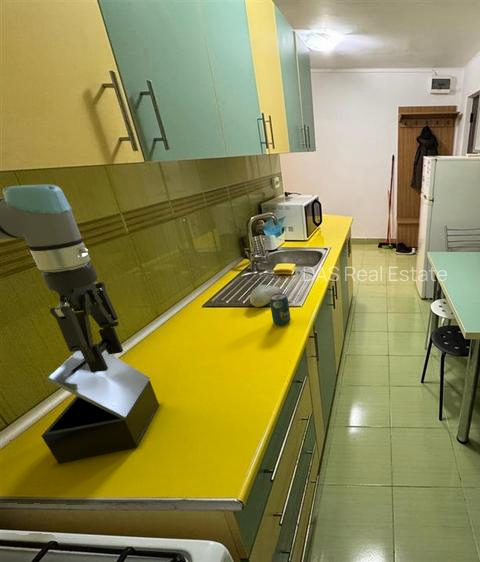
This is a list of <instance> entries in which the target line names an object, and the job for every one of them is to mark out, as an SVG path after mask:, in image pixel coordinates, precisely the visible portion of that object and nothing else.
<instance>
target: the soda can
mask: <svg viewBox="0 0 480 562" xmlns="http://www.w3.org/2000/svg"><path fill="white" fill-rule="evenodd" d="M269 306H270V312H271V318H272V322H273V324H274V325H275V326H276V327H285V326H287V325H289V324H290V322H291V319H292V318H291V313H290V304H289V298H288V297H287V294H285V293H282V292H279V294H275V295H272V296H271V300H270V303H269Z"/></svg>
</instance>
